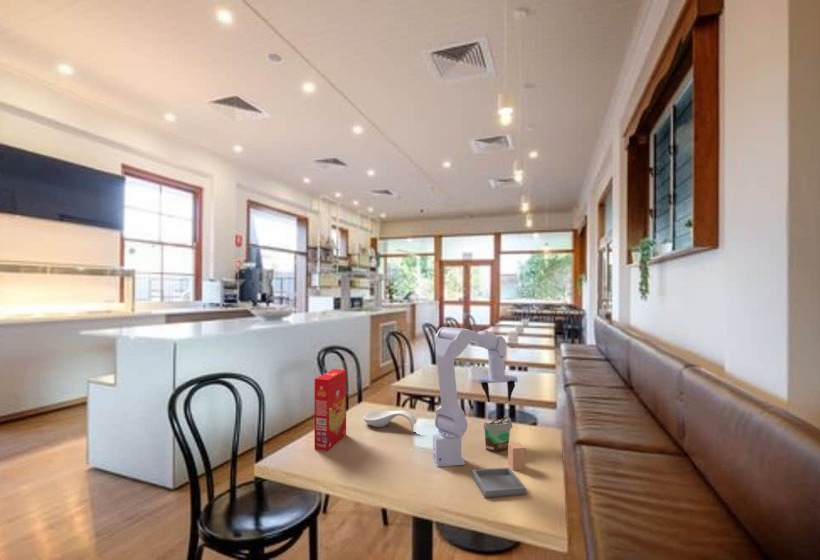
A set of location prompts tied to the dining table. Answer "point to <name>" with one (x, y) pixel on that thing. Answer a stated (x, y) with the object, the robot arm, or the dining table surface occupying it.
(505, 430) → the food container
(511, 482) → the tray
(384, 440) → the dining table surface
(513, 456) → the block
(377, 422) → the spoon rest
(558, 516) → the dining table surface
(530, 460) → the dining table surface
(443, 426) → the robot arm
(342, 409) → the food packaging
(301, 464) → the dining table surface
